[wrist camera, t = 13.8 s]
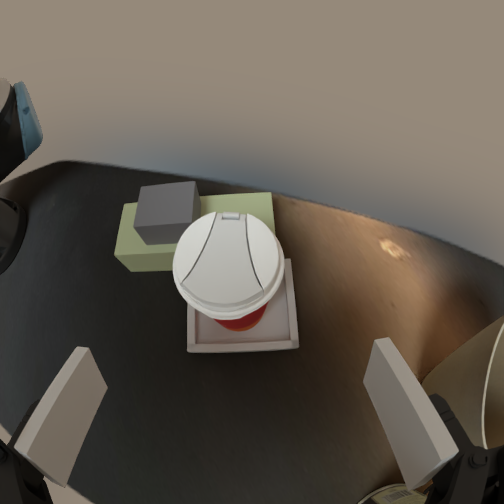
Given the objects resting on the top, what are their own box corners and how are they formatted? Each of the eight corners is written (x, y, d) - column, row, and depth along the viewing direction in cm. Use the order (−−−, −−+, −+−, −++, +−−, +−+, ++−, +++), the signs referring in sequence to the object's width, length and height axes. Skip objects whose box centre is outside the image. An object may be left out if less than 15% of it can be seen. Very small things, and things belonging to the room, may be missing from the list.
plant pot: (476, 335, 28) (557, 301, 13) (469, 435, 21) (552, 438, 7) (394, 338, 29) (484, 300, 14) (382, 455, 22) (465, 493, 8)
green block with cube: (125, 350, 28) (83, 338, 20) (138, 224, 36) (111, 184, 28) (296, 348, 29) (312, 338, 20) (283, 215, 36) (289, 168, 28)
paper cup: (209, 272, 32) (180, 201, 19) (275, 277, 32) (287, 207, 19) (200, 338, 29) (156, 307, 16) (271, 345, 28) (283, 320, 16)
